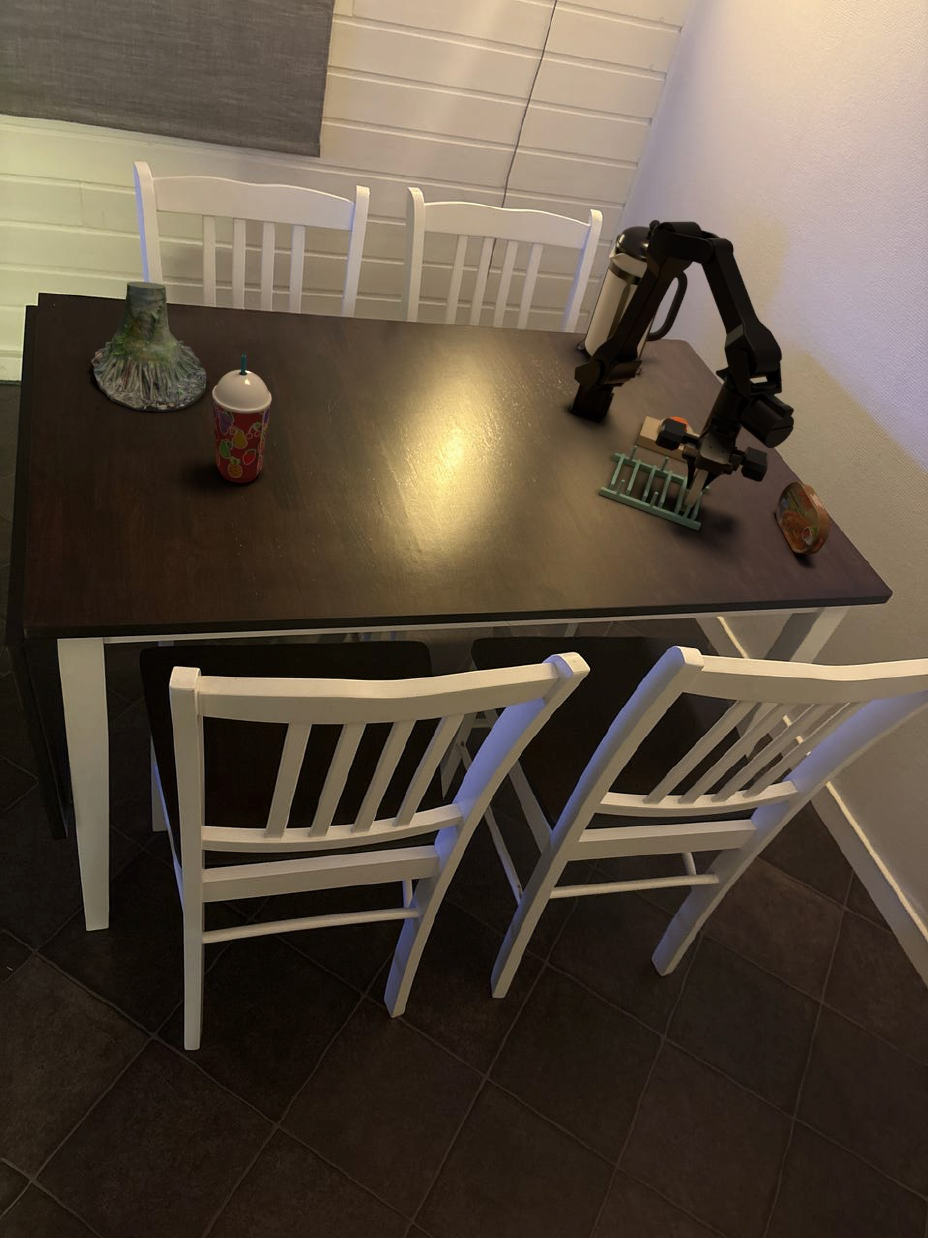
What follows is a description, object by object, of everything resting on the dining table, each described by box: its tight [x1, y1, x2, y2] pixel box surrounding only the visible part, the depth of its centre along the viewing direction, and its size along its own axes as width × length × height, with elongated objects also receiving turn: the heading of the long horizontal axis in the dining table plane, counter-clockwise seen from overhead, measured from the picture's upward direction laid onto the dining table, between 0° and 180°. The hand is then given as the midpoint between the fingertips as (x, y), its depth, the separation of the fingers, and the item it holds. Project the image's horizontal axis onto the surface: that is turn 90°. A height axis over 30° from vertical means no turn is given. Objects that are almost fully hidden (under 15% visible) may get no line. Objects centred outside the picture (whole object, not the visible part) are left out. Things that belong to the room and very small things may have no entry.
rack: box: [599, 445, 710, 531], centre depth 158 cm, size 18×13×4 cm
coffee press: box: [576, 219, 689, 375], centre depth 183 cm, size 17×16×30 cm
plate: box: [679, 468, 708, 515], centre depth 155 cm, size 2×9×10 cm, turn 163°
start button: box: [669, 416, 689, 431], centre depth 169 cm, size 4×4×2 cm
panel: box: [635, 415, 700, 464], centre depth 171 cm, size 12×8×4 cm, turn 73°
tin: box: [775, 481, 831, 555], centre depth 155 cm, size 15×3×8 cm, turn 5°
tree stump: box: [90, 281, 207, 413], centre depth 149 cm, size 18×20×18 cm
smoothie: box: [211, 354, 273, 484], centre depth 132 cm, size 8×8×20 cm
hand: (693, 489), depth 156 cm, fingers closed on plate, 2 cm apart
